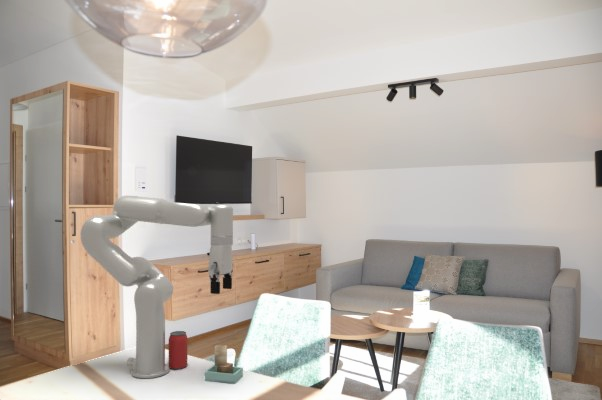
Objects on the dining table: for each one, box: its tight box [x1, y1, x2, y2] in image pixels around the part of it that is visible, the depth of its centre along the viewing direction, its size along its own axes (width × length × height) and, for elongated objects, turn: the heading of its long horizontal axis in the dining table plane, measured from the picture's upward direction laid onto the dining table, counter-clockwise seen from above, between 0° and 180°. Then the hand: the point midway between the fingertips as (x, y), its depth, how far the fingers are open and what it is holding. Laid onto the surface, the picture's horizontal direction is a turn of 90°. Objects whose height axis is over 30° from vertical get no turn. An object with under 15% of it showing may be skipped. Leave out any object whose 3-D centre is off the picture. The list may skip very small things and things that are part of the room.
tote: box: [204, 364, 244, 385], centre depth 162 cm, size 10×7×3 cm, turn 75°
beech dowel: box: [214, 344, 228, 366], centre depth 162 cm, size 4×4×6 cm
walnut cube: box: [217, 362, 234, 374], centre depth 162 cm, size 4×4×4 cm
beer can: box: [168, 330, 189, 370], centre depth 174 cm, size 7×7×12 cm
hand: (221, 291), depth 166 cm, fingers open, 9 cm apart
